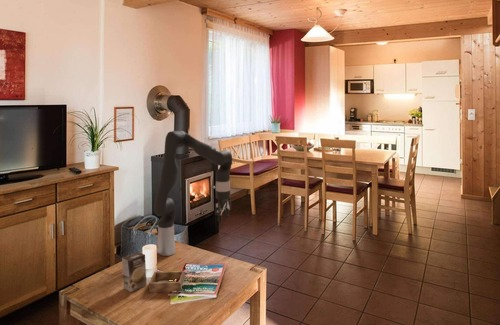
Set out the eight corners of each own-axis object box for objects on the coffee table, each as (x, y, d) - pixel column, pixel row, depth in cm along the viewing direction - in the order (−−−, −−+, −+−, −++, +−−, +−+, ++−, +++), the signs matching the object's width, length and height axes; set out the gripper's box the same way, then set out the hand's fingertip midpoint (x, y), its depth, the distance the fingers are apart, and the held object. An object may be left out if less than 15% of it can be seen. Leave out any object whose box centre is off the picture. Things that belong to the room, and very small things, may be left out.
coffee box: (131, 292, 175) (128, 261, 172) (123, 288, 179) (121, 257, 176) (147, 285, 182) (145, 254, 179) (139, 281, 186) (137, 251, 183)
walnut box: (149, 293, 174) (148, 283, 173) (155, 280, 186) (154, 271, 185) (180, 292, 175) (180, 282, 174) (184, 280, 186) (184, 271, 186)
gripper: (222, 185, 197) (223, 214, 200) (209, 191, 184) (210, 222, 187) (235, 186, 194) (235, 216, 197) (223, 193, 181) (223, 224, 184)
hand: (223, 219), depth 192 cm, fingers open, 8 cm apart
